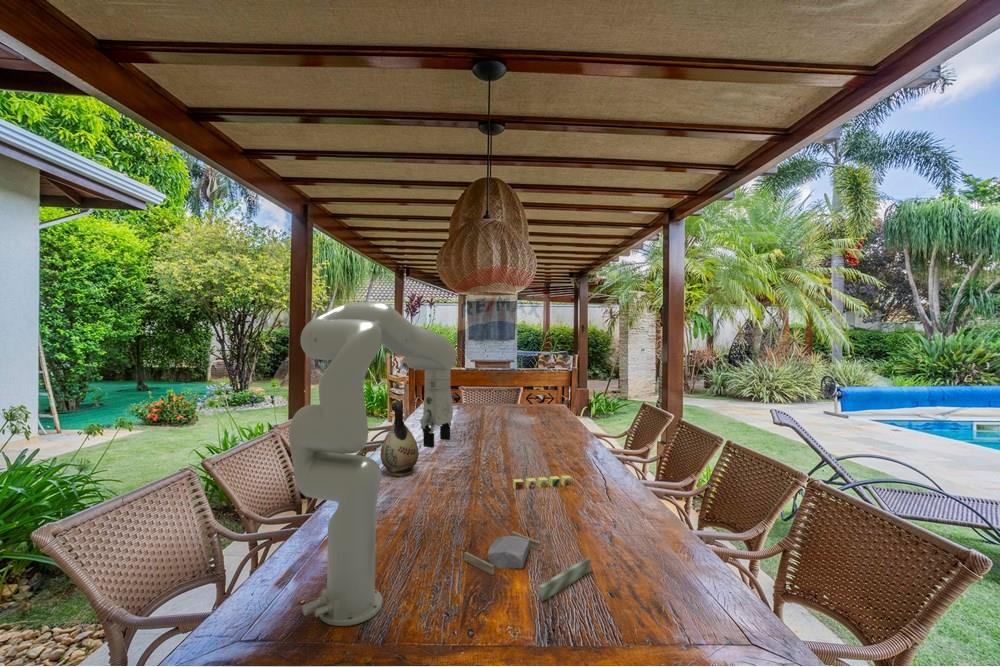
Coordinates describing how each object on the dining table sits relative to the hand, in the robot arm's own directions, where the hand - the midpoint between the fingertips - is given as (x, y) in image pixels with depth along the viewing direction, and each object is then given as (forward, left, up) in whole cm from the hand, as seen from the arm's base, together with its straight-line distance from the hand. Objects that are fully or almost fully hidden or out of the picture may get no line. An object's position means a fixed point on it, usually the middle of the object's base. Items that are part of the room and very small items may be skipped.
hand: (437, 443), depth 136 cm
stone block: (+3, -26, -26) cm, 37 cm away
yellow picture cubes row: (+53, +1, -26) cm, 59 cm away
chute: (+2, -32, -25) cm, 41 cm away
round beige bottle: (+23, +54, -26) cm, 64 cm away
